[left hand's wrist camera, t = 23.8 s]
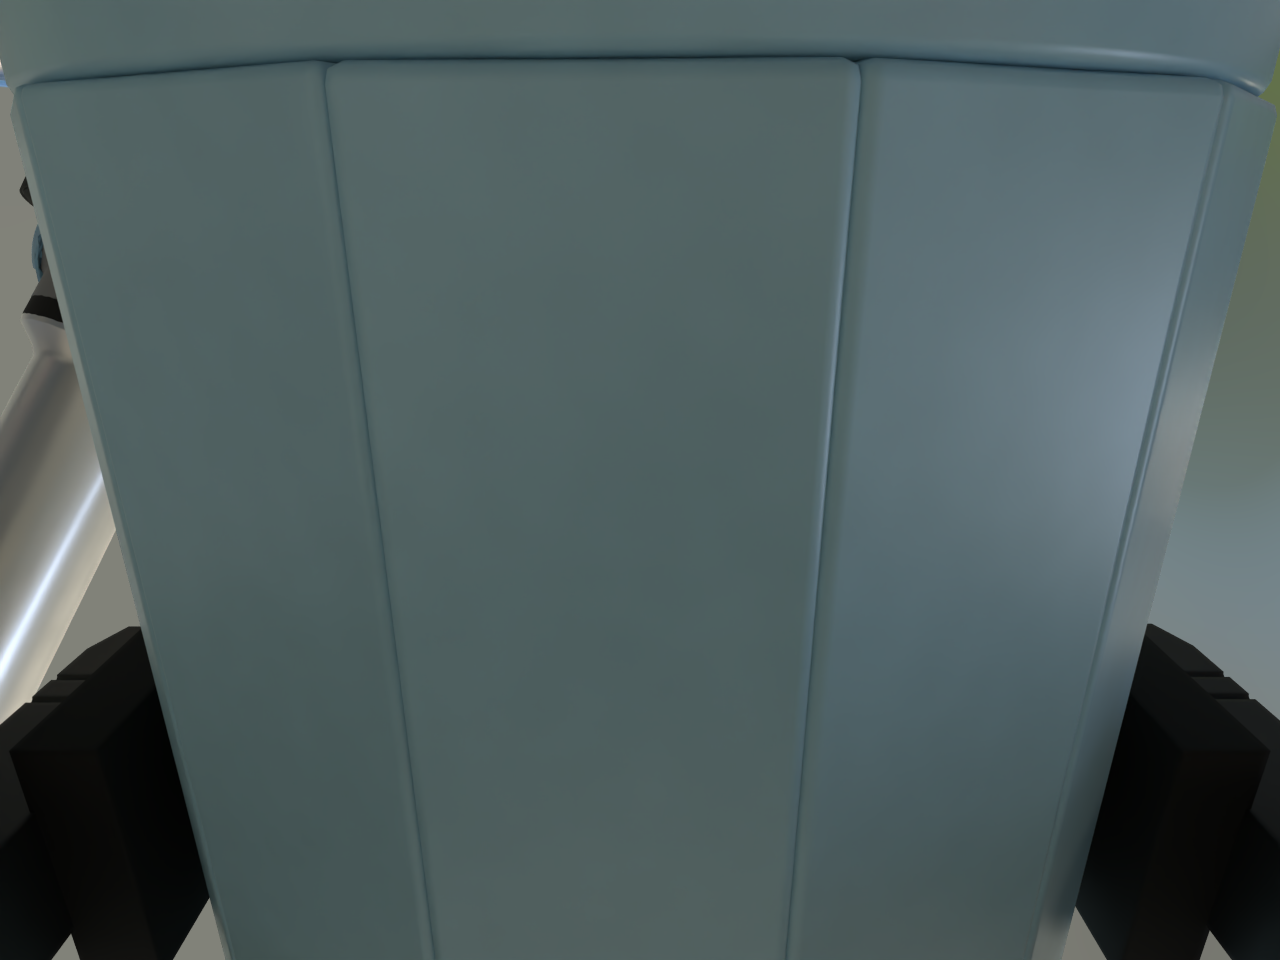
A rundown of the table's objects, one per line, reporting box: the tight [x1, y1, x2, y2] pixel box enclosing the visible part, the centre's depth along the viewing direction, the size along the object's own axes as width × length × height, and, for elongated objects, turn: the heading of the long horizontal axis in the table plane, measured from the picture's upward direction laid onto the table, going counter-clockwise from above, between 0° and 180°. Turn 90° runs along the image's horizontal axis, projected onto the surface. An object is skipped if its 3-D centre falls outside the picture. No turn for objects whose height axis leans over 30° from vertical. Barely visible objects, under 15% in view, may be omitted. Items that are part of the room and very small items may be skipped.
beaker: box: [0, 0, 1280, 960], centre depth 9 cm, size 9×9×12 cm
